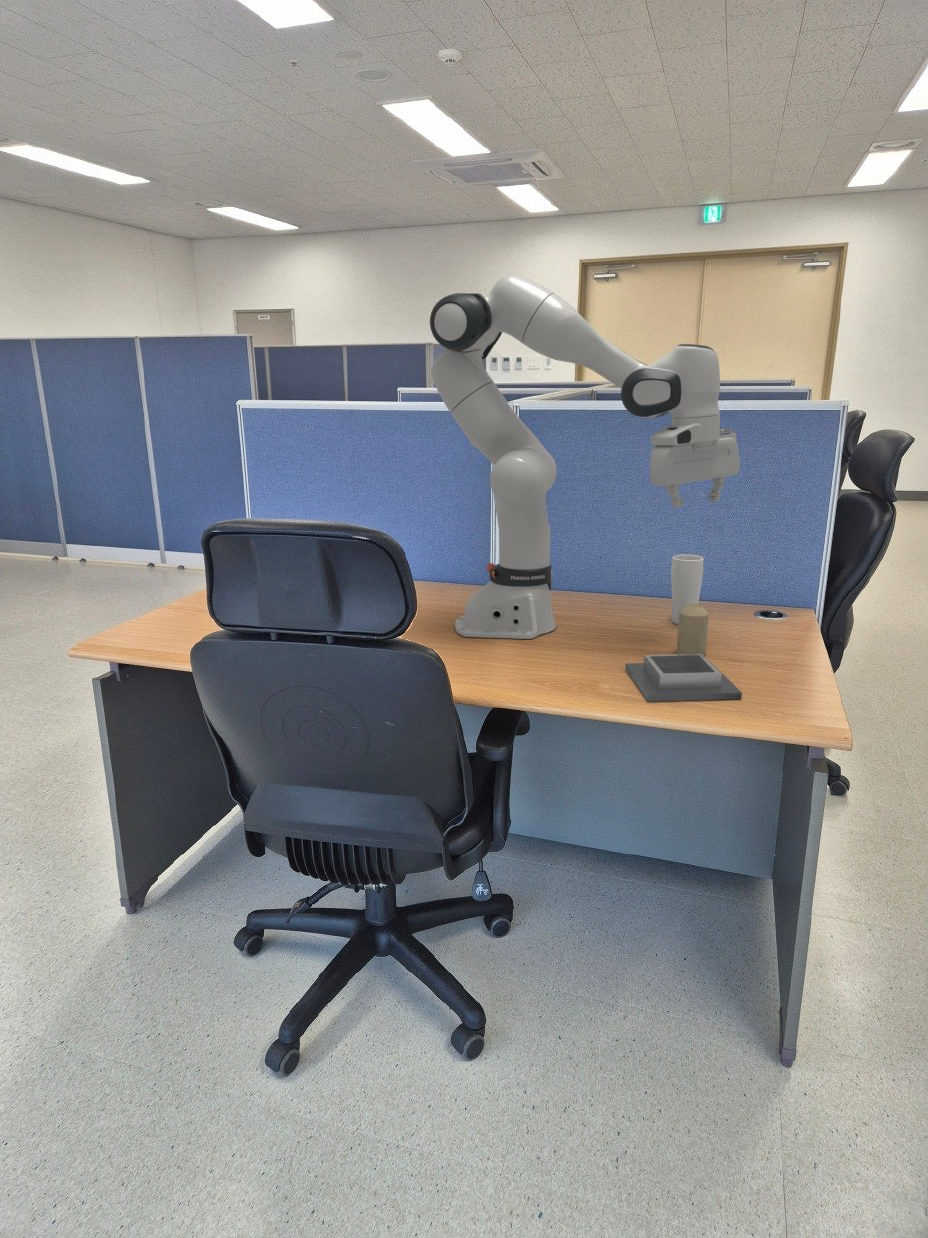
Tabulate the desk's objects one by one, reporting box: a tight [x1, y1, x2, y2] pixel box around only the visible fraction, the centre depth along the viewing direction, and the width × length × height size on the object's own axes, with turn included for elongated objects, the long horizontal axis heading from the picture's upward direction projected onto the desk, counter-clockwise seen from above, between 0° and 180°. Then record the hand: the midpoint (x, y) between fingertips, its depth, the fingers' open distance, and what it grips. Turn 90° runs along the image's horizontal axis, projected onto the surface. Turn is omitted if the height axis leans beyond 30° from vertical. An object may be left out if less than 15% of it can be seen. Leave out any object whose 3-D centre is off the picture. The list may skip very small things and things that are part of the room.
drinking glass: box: [670, 553, 705, 626], centre depth 174 cm, size 7×7×15 cm
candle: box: [676, 603, 709, 657], centre depth 154 cm, size 6×6×10 cm
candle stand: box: [625, 653, 743, 703], centre depth 139 cm, size 16×16×4 cm
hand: (696, 503), depth 154 cm, fingers open, 8 cm apart
